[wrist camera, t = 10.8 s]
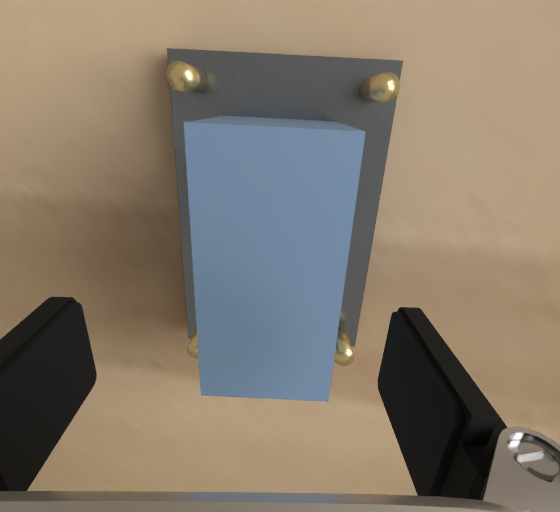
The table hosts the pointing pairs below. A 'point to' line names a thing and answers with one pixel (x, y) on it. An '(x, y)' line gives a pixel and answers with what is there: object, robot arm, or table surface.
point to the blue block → (270, 250)
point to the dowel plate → (290, 105)
